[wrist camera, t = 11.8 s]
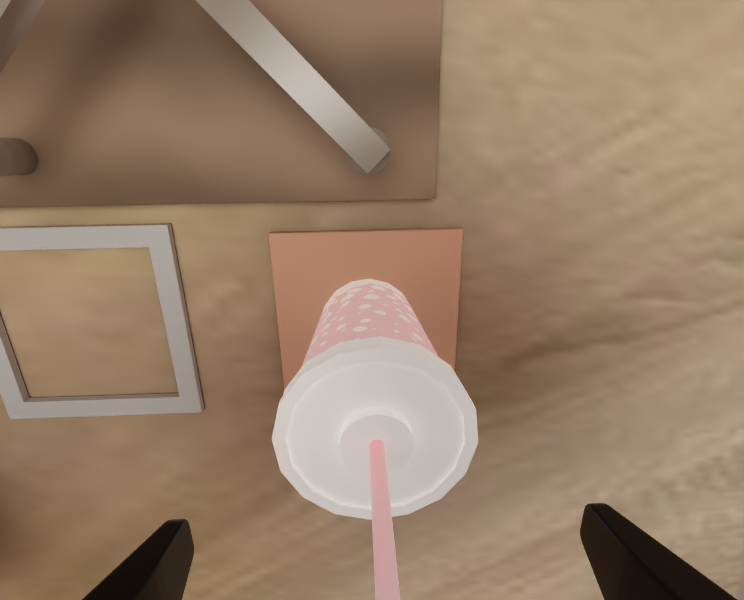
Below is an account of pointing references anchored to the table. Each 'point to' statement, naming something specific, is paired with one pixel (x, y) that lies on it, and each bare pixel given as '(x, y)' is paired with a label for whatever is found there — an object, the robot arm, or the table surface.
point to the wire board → (217, 101)
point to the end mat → (358, 262)
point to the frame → (3, 368)
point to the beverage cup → (374, 418)
